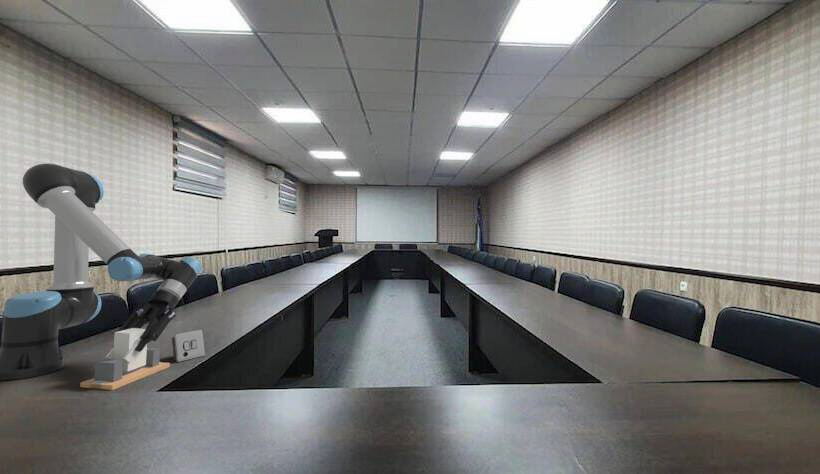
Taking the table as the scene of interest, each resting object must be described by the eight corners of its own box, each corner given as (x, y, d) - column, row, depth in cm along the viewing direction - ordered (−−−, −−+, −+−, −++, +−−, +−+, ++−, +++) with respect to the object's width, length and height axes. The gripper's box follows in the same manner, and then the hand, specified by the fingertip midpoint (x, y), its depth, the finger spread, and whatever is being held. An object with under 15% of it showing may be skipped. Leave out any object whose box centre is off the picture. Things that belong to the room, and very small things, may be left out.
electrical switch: (177, 363, 116) (177, 334, 117) (169, 361, 118) (169, 334, 119) (205, 356, 124) (205, 329, 125) (196, 355, 126) (196, 329, 127)
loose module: (112, 370, 101) (114, 332, 101) (131, 363, 106) (133, 327, 107) (127, 371, 100) (129, 333, 100) (145, 364, 106) (147, 328, 106)
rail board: (80, 387, 94) (81, 363, 94) (142, 364, 113) (143, 345, 113) (112, 389, 93) (113, 366, 93) (169, 366, 112) (170, 347, 112)
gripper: (197, 303, 118) (153, 368, 101) (150, 301, 120) (99, 364, 103) (186, 289, 113) (138, 355, 96) (137, 287, 115) (81, 351, 98)
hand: (118, 360), depth 100 cm, fingers closed on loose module, 5 cm apart
